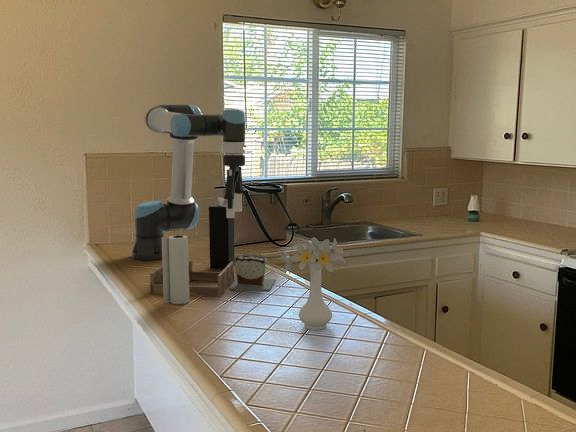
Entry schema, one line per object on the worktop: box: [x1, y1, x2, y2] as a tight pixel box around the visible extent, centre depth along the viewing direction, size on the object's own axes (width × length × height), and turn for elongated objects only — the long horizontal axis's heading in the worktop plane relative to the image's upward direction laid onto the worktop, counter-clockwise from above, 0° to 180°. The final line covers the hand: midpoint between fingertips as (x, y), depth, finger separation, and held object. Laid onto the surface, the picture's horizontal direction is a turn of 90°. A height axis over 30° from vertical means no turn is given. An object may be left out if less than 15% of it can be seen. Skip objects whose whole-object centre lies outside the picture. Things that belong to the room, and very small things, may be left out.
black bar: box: [208, 196, 235, 270], centre depth 239 cm, size 8×8×28 cm
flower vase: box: [279, 236, 347, 331], centre depth 168 cm, size 13×18×25 cm
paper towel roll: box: [161, 234, 190, 305], centre depth 193 cm, size 7×6×21 cm
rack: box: [149, 259, 235, 297], centre depth 212 cm, size 21×24×7 cm
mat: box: [228, 278, 277, 292], centre depth 214 cm, size 14×14×1 cm
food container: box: [233, 253, 268, 287], centre depth 214 cm, size 12×6×10 cm, turn 71°
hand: (234, 214), depth 214 cm, fingers open, 13 cm apart
